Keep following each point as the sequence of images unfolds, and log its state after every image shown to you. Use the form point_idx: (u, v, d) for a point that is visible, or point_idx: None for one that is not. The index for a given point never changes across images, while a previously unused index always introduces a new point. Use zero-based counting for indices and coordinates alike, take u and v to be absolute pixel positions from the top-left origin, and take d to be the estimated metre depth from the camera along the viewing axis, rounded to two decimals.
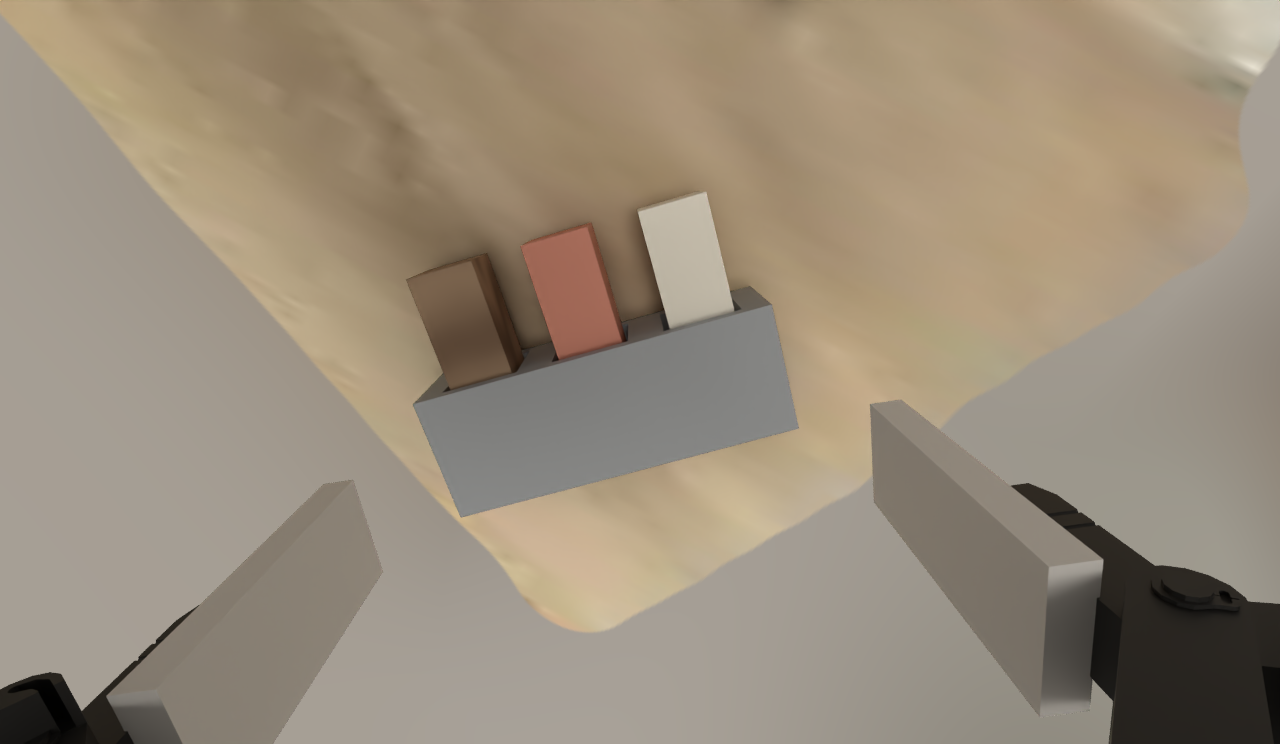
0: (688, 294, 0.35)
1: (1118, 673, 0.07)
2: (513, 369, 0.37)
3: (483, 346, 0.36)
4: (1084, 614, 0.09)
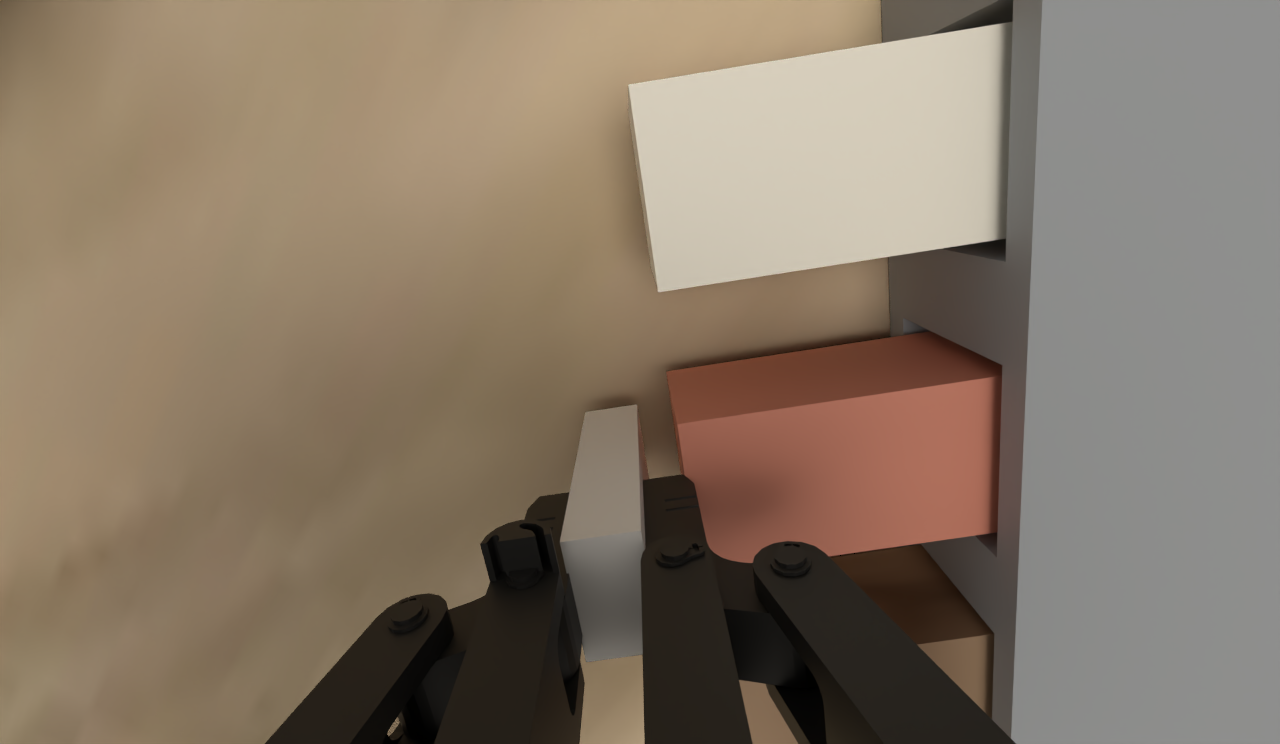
0: (912, 171, 0.12)
1: (643, 638, 0.08)
2: (971, 617, 0.16)
3: None
4: (636, 574, 0.11)
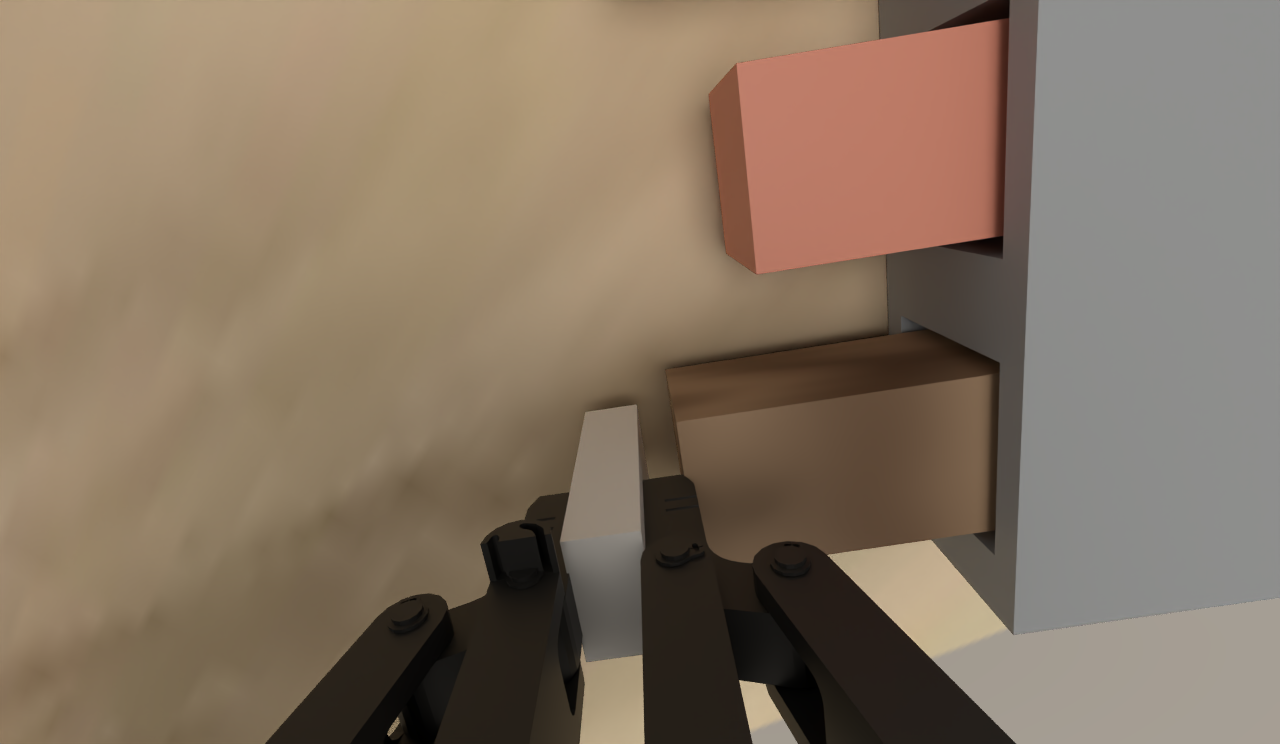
0: None
1: (643, 638, 0.08)
2: (975, 365, 0.14)
3: (902, 432, 0.14)
4: (636, 574, 0.11)
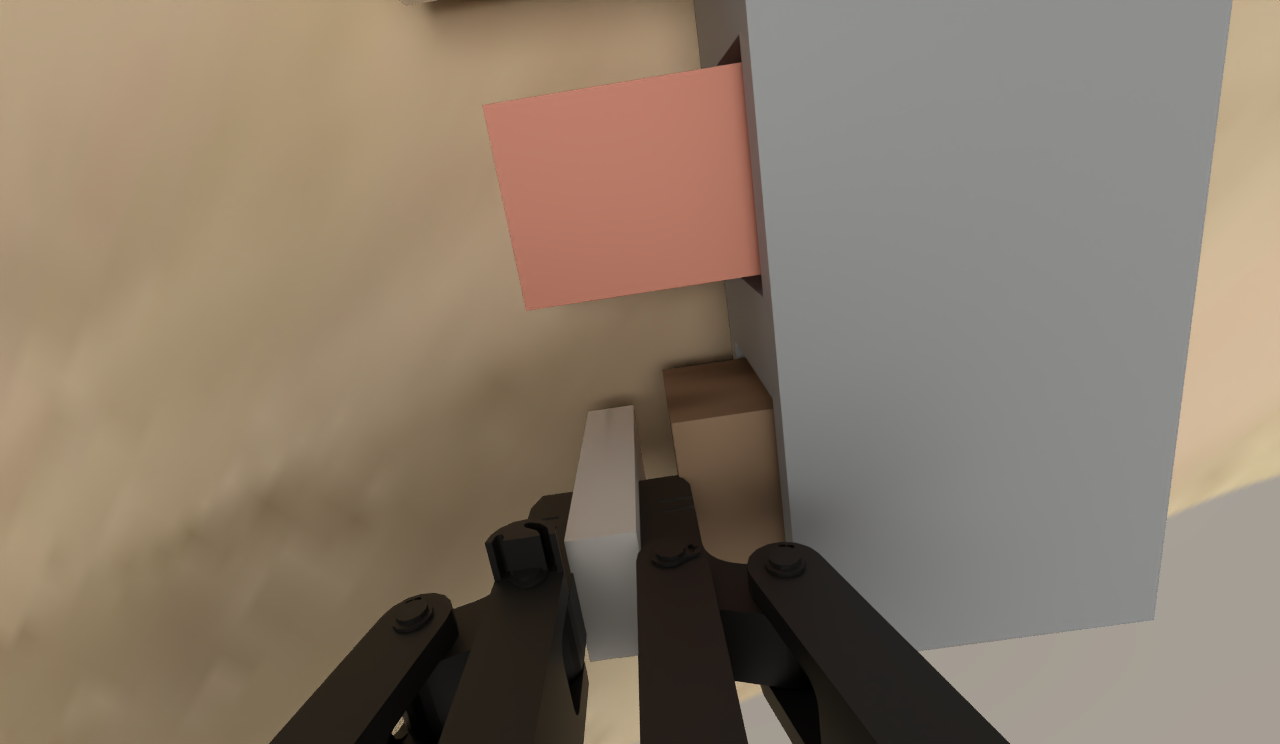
0: None
1: (638, 639, 0.08)
2: None
3: None
4: (631, 574, 0.11)
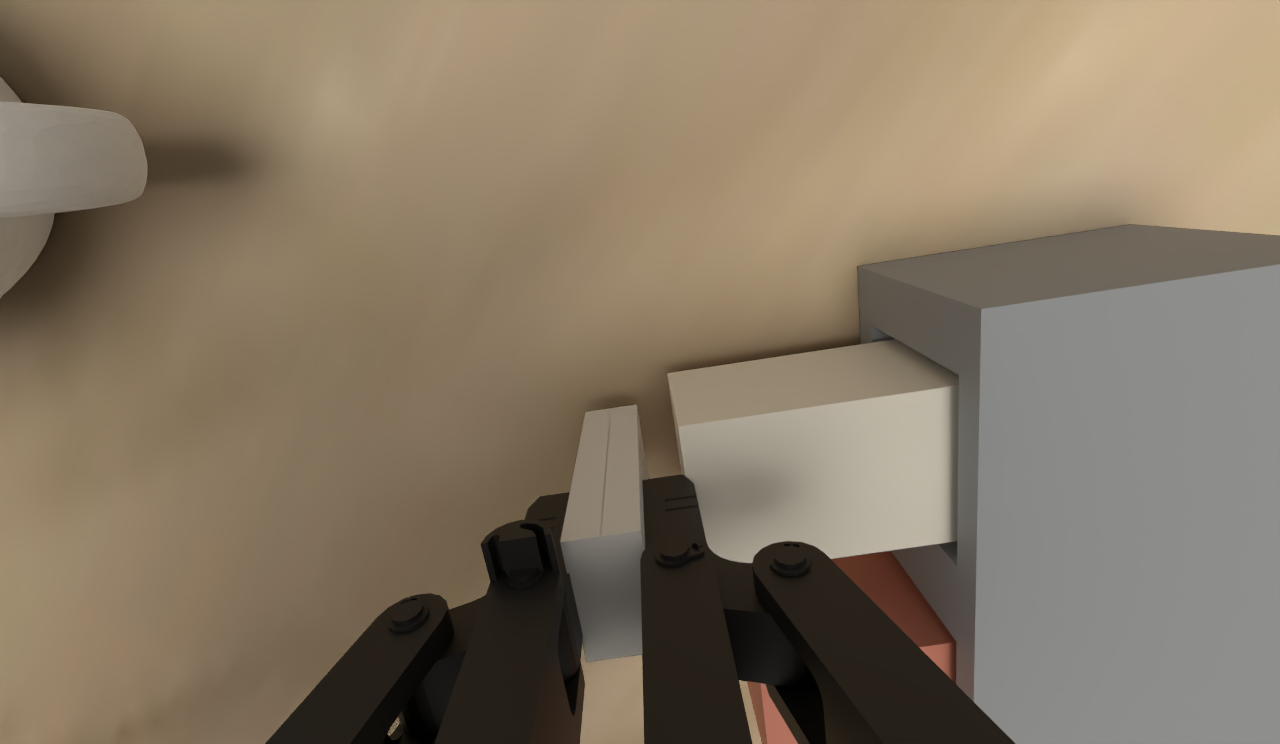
0: (918, 486, 0.14)
1: (642, 638, 0.08)
2: None
3: None
4: (636, 574, 0.11)
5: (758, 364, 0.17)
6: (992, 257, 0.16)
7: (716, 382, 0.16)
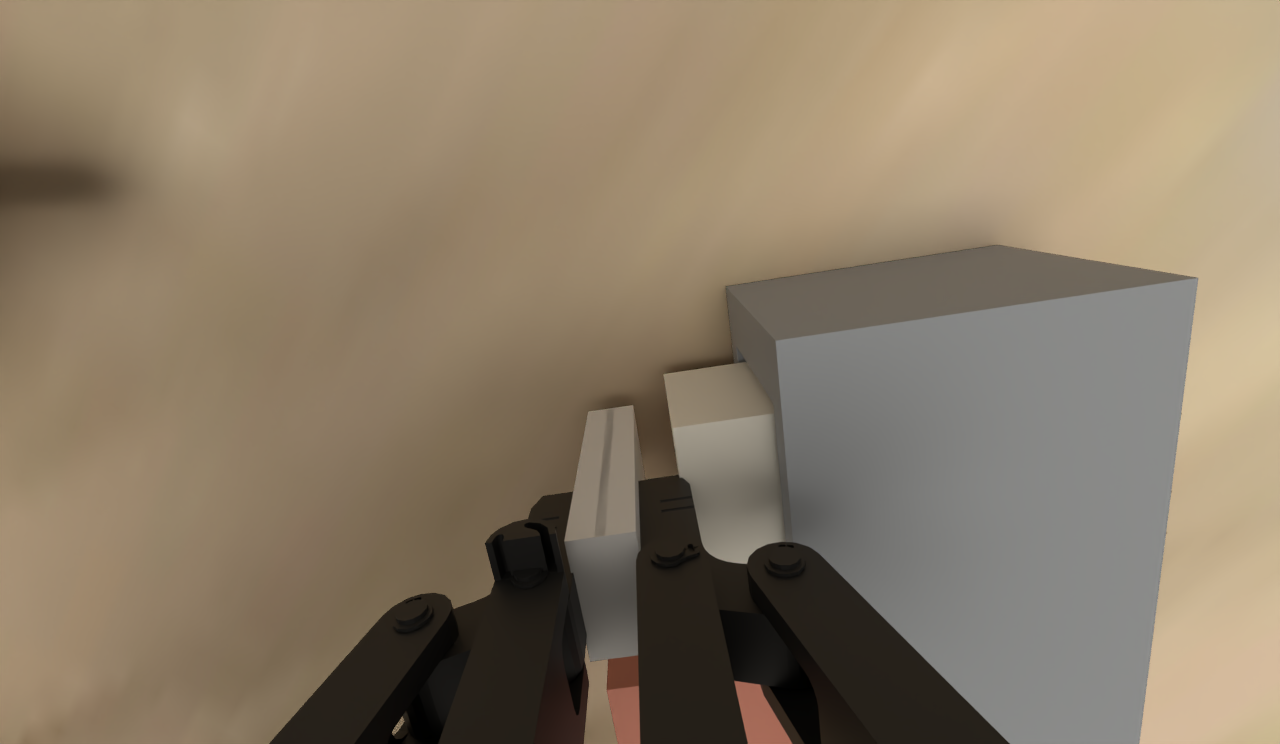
0: None
1: (638, 639, 0.08)
2: None
3: None
4: (631, 574, 0.11)
5: None
6: (845, 280, 0.16)
7: (712, 383, 0.16)
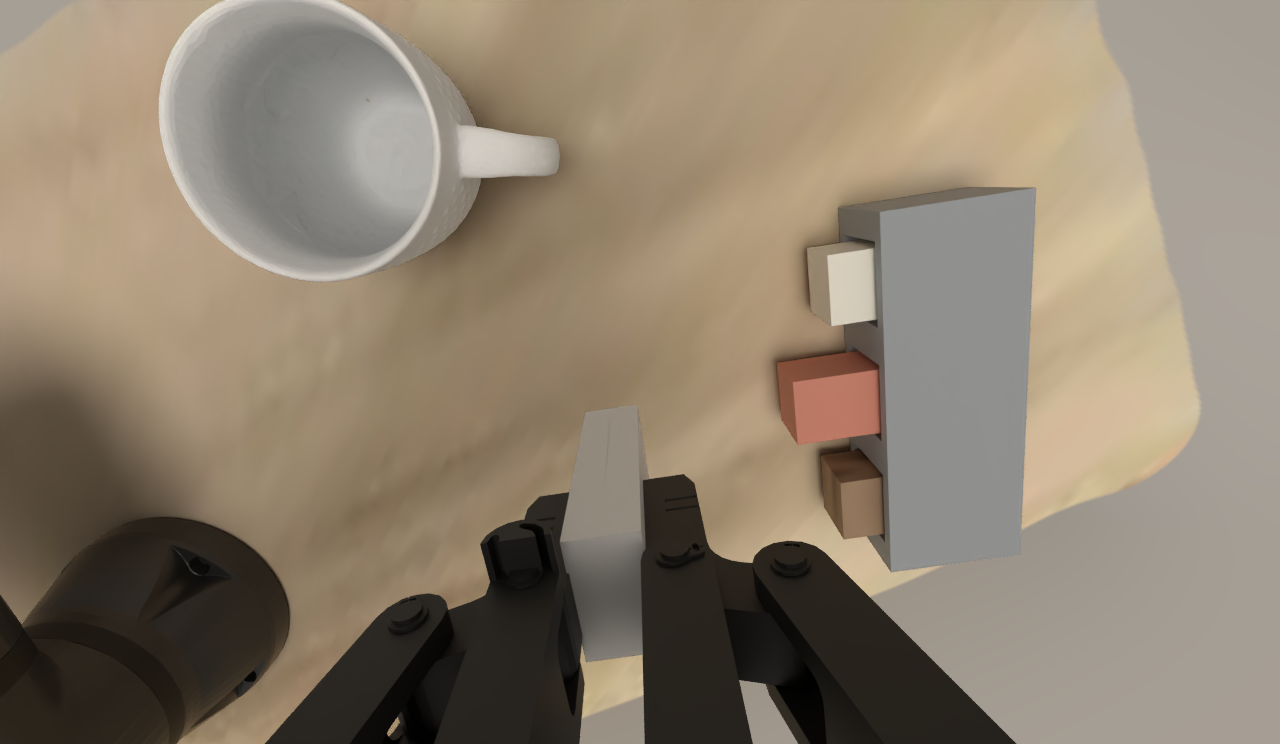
0: None
1: (643, 638, 0.08)
2: None
3: None
4: (636, 574, 0.11)
5: (851, 242, 0.36)
6: (898, 200, 0.35)
7: (834, 247, 0.35)
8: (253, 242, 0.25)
